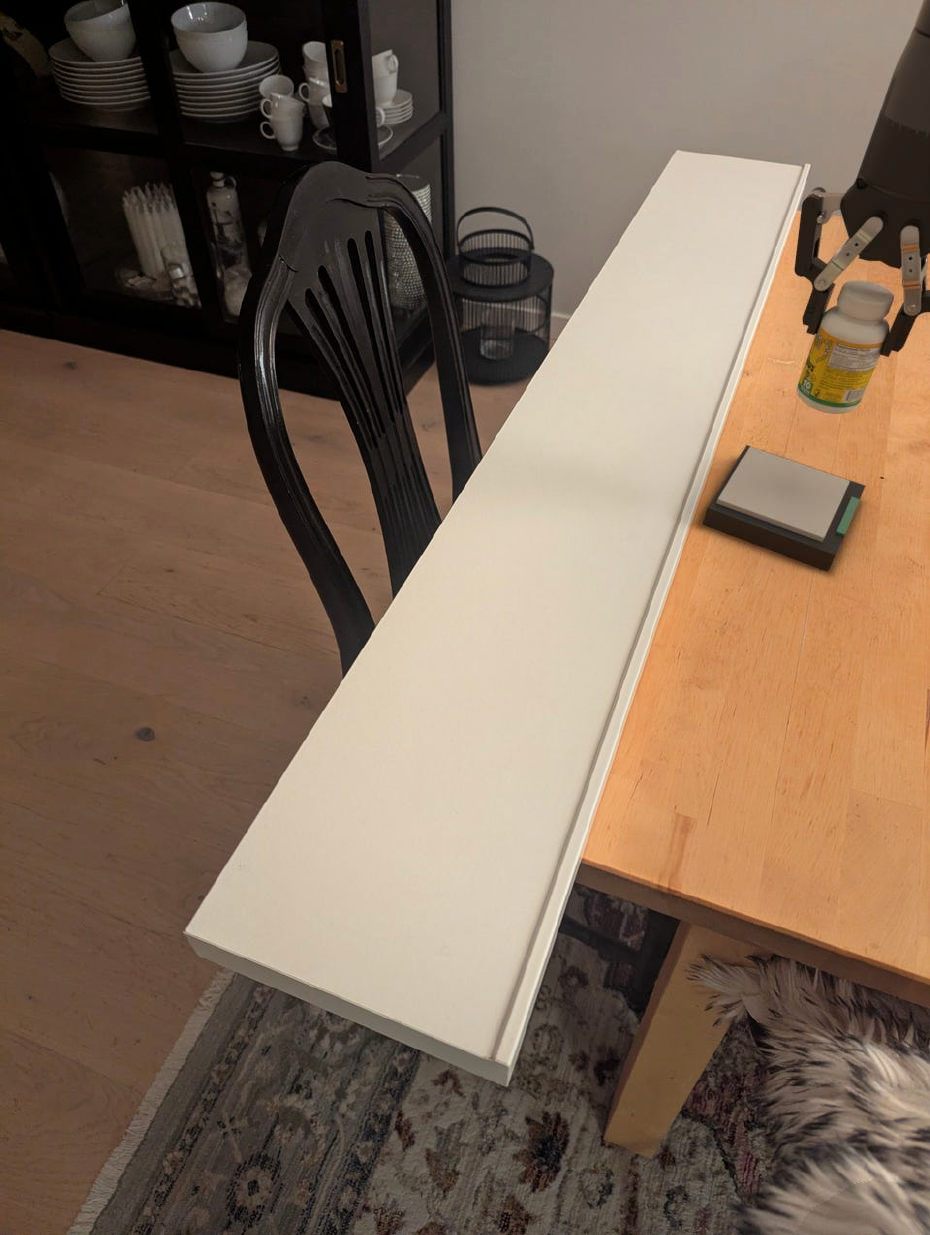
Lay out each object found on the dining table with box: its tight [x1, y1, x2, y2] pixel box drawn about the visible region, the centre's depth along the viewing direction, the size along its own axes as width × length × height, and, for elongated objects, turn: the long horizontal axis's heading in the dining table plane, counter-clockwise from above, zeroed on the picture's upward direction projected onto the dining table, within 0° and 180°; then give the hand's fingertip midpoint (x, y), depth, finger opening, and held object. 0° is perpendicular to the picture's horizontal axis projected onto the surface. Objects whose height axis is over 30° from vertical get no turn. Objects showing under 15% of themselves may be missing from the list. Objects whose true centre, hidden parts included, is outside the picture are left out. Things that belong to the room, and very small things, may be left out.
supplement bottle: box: [796, 279, 895, 415], centre depth 73 cm, size 5×5×10 cm
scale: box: [702, 444, 866, 572], centre depth 84 cm, size 12×12×3 cm
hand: (849, 340), depth 72 cm, fingers closed on supplement bottle, 5 cm apart
